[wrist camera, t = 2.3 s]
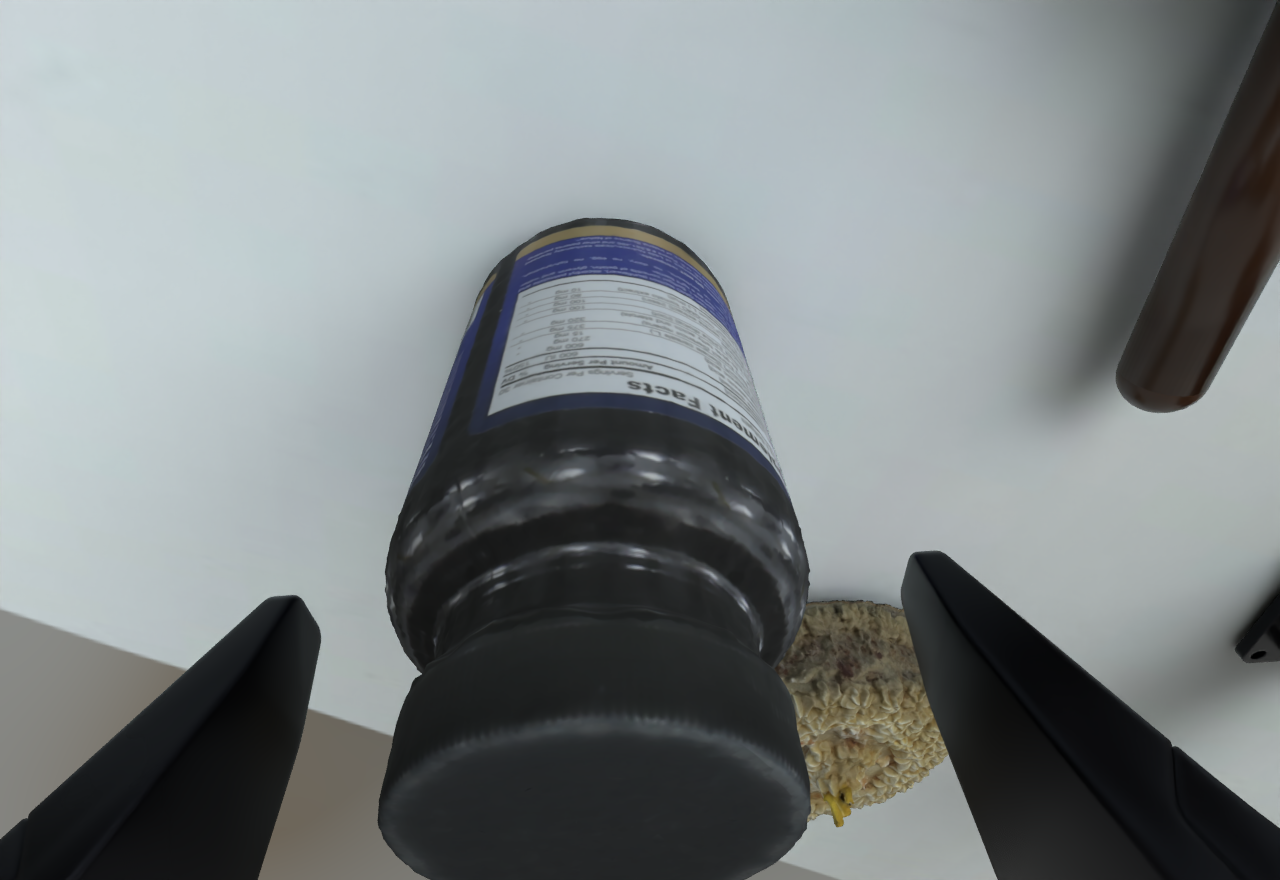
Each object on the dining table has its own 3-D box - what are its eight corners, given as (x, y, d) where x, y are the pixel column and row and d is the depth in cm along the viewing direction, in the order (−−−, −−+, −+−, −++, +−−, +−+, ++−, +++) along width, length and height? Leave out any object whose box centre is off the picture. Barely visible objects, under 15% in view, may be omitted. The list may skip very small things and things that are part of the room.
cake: (950, 558, 22) (1046, 710, 18) (916, 712, 28) (982, 851, 24) (655, 614, 22) (681, 779, 18) (686, 756, 28) (711, 902, 24)
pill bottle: (603, 473, 19) (594, 961, 10) (420, 333, 16) (181, 849, 7) (784, 338, 16) (985, 831, 7) (606, 142, 13) (594, 575, 5)
